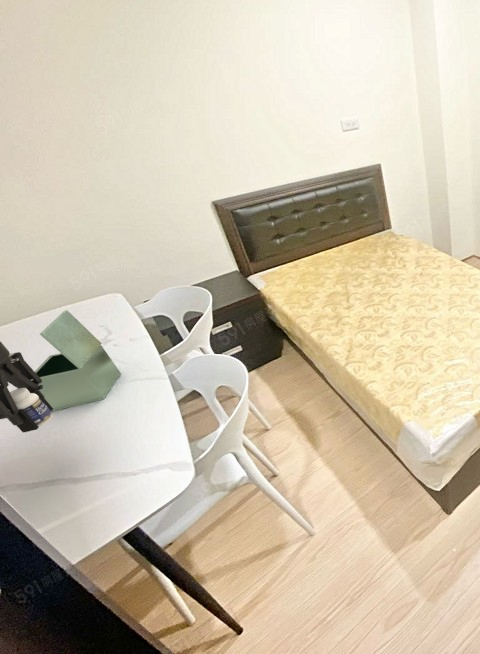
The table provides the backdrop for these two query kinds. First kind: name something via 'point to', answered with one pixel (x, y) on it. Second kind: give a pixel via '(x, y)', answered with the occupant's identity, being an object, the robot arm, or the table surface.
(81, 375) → the open box
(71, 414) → the table surface
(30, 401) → the pill bottle
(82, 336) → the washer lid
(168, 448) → the table surface
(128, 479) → the table surface
